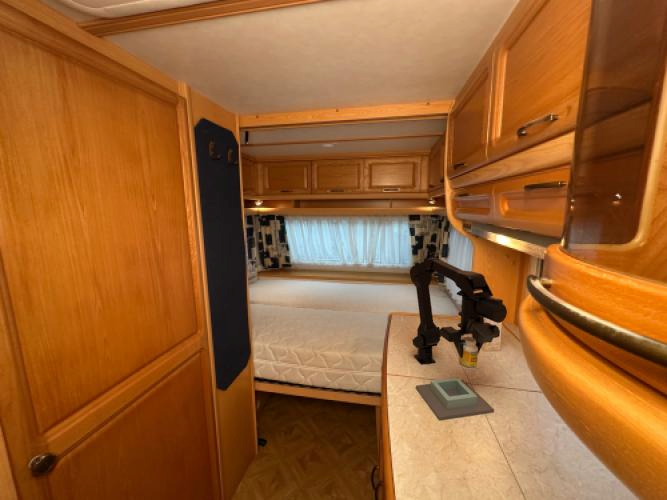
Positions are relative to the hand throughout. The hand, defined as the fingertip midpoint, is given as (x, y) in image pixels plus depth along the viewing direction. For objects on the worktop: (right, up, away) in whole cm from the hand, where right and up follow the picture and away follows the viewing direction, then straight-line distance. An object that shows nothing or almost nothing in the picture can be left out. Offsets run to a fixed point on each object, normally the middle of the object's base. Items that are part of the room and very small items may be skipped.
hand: (468, 356), depth 91 cm
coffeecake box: (+24, -8, +34) cm, 42 cm away
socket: (-7, -13, -3) cm, 15 cm away
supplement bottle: (0, -4, +1) cm, 4 cm away
